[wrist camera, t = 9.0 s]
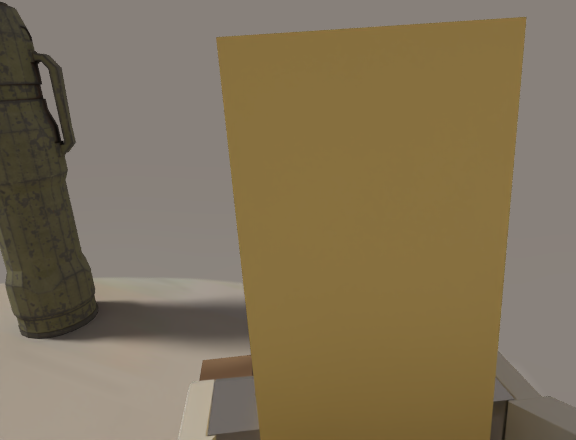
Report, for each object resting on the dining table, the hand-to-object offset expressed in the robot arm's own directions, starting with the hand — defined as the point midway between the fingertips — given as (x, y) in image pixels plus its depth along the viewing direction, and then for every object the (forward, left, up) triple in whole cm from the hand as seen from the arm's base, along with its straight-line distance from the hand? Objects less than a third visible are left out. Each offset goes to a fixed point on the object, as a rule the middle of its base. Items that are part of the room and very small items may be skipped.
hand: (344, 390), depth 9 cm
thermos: (+22, +44, -19) cm, 53 cm away
